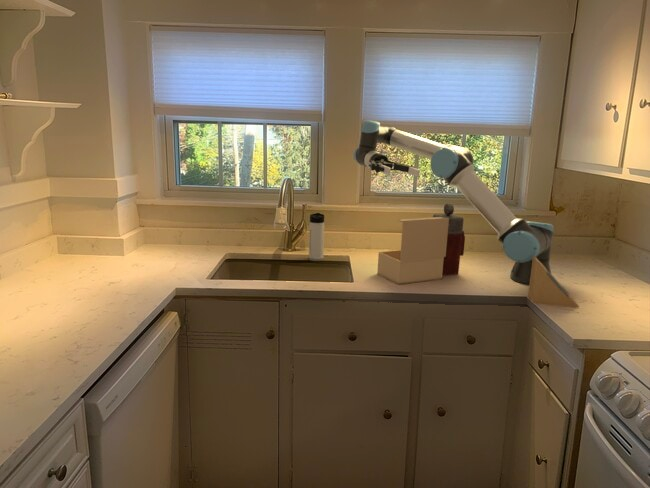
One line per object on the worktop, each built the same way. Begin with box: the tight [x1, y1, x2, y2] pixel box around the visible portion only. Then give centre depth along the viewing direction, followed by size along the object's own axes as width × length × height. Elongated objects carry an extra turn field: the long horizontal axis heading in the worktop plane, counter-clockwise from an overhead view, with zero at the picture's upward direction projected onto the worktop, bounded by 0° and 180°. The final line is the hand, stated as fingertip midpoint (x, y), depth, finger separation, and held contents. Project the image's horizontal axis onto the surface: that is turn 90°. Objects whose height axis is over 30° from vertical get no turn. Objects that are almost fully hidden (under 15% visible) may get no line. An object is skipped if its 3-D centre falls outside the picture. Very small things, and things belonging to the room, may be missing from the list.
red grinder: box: [432, 203, 466, 276], centre depth 199 cm, size 9×11×28 cm
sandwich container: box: [527, 256, 580, 308], centre depth 169 cm, size 9×15×15 cm, turn 76°
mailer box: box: [376, 249, 444, 286], centre depth 193 cm, size 15×20×9 cm
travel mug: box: [308, 212, 325, 262], centre depth 213 cm, size 6×7×20 cm
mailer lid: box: [397, 217, 449, 261], centre depth 185 cm, size 15×20×4 cm
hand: (404, 172), depth 192 cm, fingers open, 13 cm apart
